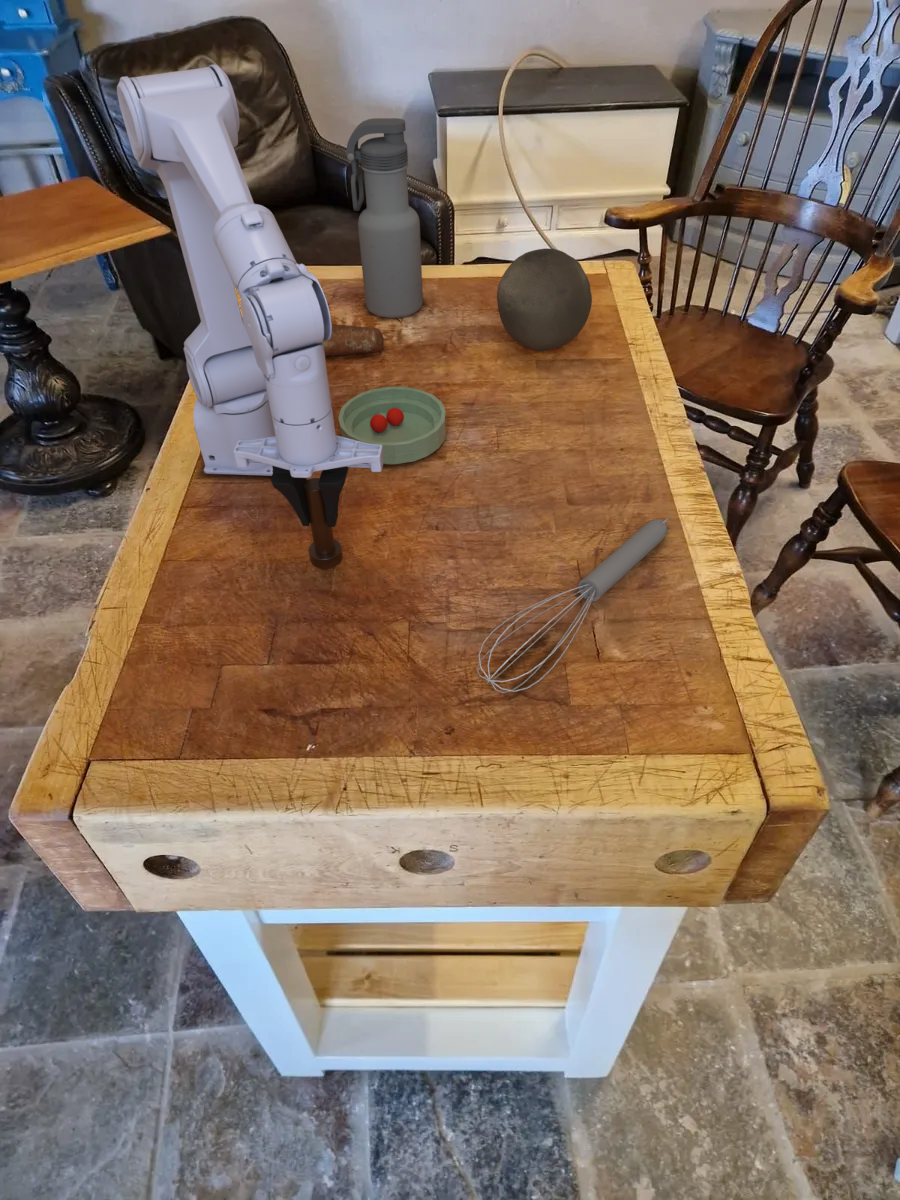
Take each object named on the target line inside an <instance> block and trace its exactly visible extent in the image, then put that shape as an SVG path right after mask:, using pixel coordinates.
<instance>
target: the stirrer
mask: <svg viewBox="0 0 900 1200" xmlns="http://www.w3.org/2000/svg"><path fill="white" fill-rule="evenodd" d="M319 479H320V477H310V478H307V481H305V483H304V491H305V497H306V502H307V508H308V514H309V519H310V524H309V526H310V530H311V535H312V541H313V542H312V543H311V544H310V545H309V547H308V556H309V560H310V563H311V565H312V566H313V567H314V568H316V569H319V570H330V569H333V568H335V567H338V566H339V565H340V564H341V563H342V562H343V559H344V554H343V548H342V544H341V542H339V541H338V540H337V539H334V537H335V536H334V532H333V527H328V524H327V519H326V508H325V503H324V499H323V496H322V493H321V490H320V488H319V485H318V482H319Z"/></svg>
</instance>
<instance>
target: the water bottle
mask: <svg viewBox="0 0 900 1200" xmlns="http://www.w3.org/2000/svg"><path fill="white" fill-rule="evenodd" d="M406 128H407V127H406V120H405V119H403V118H398V117H396V118H395V117H391V118H390V117H389V118H387V117H386V118H381V117H379V118H378V117H377V118H376V117H375V118H368V119H366V120H363V121H362V122H360V123H359V124H358V125H357V126H356V127H355V128H354V130H353V131H352V133H351V135H350V137H349V138H348V140H347V143H346V158H347V160H348V161H349V162H351V171H352V174H351V176H350V189H351V199H352V200H351V201H352V208H353V211H354V212H360V210H361V208H362V205H363V203H364V200H365V202H366V208H365V209H363V210H362V211H361V212H360V214H359V216H358V220H357V227H358V228H357V229H358V238H359V240H358V241H359V249H360V258H361V261H360V262H361V271H362V272H361V273H362V281H363V282H362V283H363V291H364V302H365V306H366V308H367V310H368V311H369V312H370V313H371V314H372V315H374V316H377V317H380V318H385V319H398V318H399V319H400V318H406V317H409V316H412V315H413V314H415V313H417V312H419V310H420V309H421V308H422V306H423V303H424V293H423V271H422V270H423V269H422V248H421V223H420V222H421V221H420V216H419V215H418V213H417V211H416V210H415V209H414V208H412V206H410V204H409V189H408V187H409V185H408V169H407V168H408V167H409V163H408V162H409V158H408V157H409V156H408V155H409V154H408V144H407V143H406V141H405V133H404V132H406ZM374 134H383V136H376V137H372V138H368V139H366V140H365V141H364V142H362V143H361V144H360V146H359V141H360V139H361V138H363V137H365V136H368V135H374ZM359 160H360V161H359ZM360 163H361V166H360ZM357 181H358V193H357Z"/></svg>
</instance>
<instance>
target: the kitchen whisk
mask: <svg viewBox="0 0 900 1200" xmlns="http://www.w3.org/2000/svg"><path fill="white" fill-rule="evenodd" d="M670 519H671V517H670V516H668V517H667V518H665V519H664V520H662V519H659V518H654V519H652V520H650V521H647V522H646V523H645V524H644V525H642V526H641V527H640V528H639V529H638V530H637V531H636V532H634V534H632V535H631V536H630V537H629V538H628V539H627V540H625V541H624V542H623V543H622V544H621V545H619V546H618V547H617V548H616V549H615V550H614V551H613V552H612V553H610V554H609V556H607V557H606V558H605V559H604V560H602V561H601V562H600V563H599V564H598V565H597V566H596V567H595V568H592V570H591V571H590V572H589V573H588V574H587V575H585V576H584V577H582V579H581V580H580V581H579V582H578V584H577V586H576V587H574V588H571V589H568V590H565V591H563V592H559V593H557V594H554V595H552V596H550V597H547V598H545V599H542V600H540V601H538V602H536V603H533V604H532V605H530V606H528V607H526V608H524V609H522V610H520V611H519V612H517V613H515V614H514V615H511V616H510V617H509V618H507V619H506V620H504V621H502V623H500V624H499V625H498V626H496V627H495V629H493V630H492V631H491V632H490V634H488V636H487V637H486V638H485V640H484V641H483V642H482V645H481V647H480V649H479V652H478V662H479V663H478V665H477V668H476V670H477V675H478V677H480V678H482V679H484V680H486V684H487V685H489V684H491V686H492V687H493V689H494V691H497V692H499V693H501V694H506V693H510V692H514V693H515V692H520V691H525V690H527V689H530V688H531V687H532V686H535V685H536V684H538V683H539V682H540V681H542V680H543V679H544V677H546V675H548V674H549V673H550V672H551V671H552V670H553V669H554V667H555V666H556V665H557V664H558V662H559V661H560V660H561V658H562V657H563V656H564V654H565V652H566V651H568V648H569V647H570V645H571V643H572V641H573V640H574V639H575V637H576V634H577V633H578V631H579V629H580V627H581V626H582V623H583V621H584V619H585V617H586V615H587V613H588V611H589V608H590V606H591V604H592V602H597V601H598V600H599V599H600V598H602V597H603V595H605V594H606V593H607V591H609V590H610V589H611V588H612V587H613V586H614V585H615V584H617V582H619V581H621V579H622V578H623V577H624V576H625V575H626V574H627V573H629V571H631V570H632V569H633V568H635V566H636V565H638V563H640V561H642V560H643V559H644V558H645V557H646V556H647V555H648V554H649V553H650V552H651V551H652V550H653V549H654V548H656V546H658V545H659V544H660V543H661V542H662V541H663V540H664V539H665V537H666V535H667V534H668V526H667V524H666V523H667V522H668V521H669V520H670ZM575 590H578V591H577V592H574V593H573V594H572V595H569V596H568V597H566V598H564V599H562V600H561V601H559V602H557V603H555V604H554V605H552V606H550V607H549V608H547V609H545V610H543V611H541V613H539V614H537V615H535V616H533V617H532V618H531V619H529V620H528V621H526V622H525V623H523V624H522V625H520V626H519V627H517V628H515V629H514V630H513V631H511V632H510V633H508V635H506V636H504V637H503V638H502V636H503V635H504V634H505V633H506V632H507V630H508V629H509V628H511V627H512V626H513V625H515V624H516V623H517V622H518V621H519V620H520V619H522V618H523V617H524V616H526V615H527V614H529V613H531V612H532V611H533V610H535V609H537V608H539V607H540V606H542V605H544V604H545V603H547V602H550V601H552V600H554V599H556V598H558V597H560V596H563V595H565V594H568V593H570V592H573V591H575ZM577 594H580V595H579V596H578V597H577V598H575V599H573V601H571V602H570V603H569V604H568V605H567V606H565V608H563V609H562V610H560V611H559V612H558V613H557V614H556V615H555V616H553V617H552V618H551V619H550V620H549V621H548V622H547V623H546V624H544V625H543V626H542V627H541V628H540V629H538V630H537V631H536V632H535V633H534V634H533V635H531V637H530V638H528V639H527V640H526V641H525V642H524V643H523V644H521V646H520V647H519V648H518V649H517V650H515V651H514V653H512V655H510V657H508V658H507V659H506V660H505V661H504V662H503V663H502V664H501V665H500V666H499V667H498V668H497V669H496V671H495V672H494V673H493V674H492V675H491V672H490V671H491V670H490V662H491V658H492V653H493V651H494V649H495V648H496V647H497V646H498V645H499V644H500V643H502V642H503V641H505V639H507V638H509V637H510V636H511V635H512V634H514V633H515V632H516V631H518V630H520V629H521V628H523V627H524V626H526V625H527V624H528V623H530V622H532V621H533V620H535V619H537V618H538V617H539V616H541V615H543V614H545V613H546V612H547V611H550V610H551V609H553V608H555V607H556V606H558V605H559V604H562V603H563V602H565V601H566V600H569V599H570V598H572V597H573V596H576V595H577ZM583 598H584V599H585V602H584V604H583V605H582V607H581V609H580V610H579V612H578V613H577V615H576V616H575V618H574V620H573V621H572V623H571V624H570V625H569V627H568V628H567V630H566V631H565V633H564V634H563V635H562V637H561V638H560V639H559V641H558V642H557V644H556V645H555V646H554V648H553V649H552V650H551V651H550V653H549V654H548V655H547V656H546V657H545V658H544V659H543V660H542V661H541V662H540V663H539V664H537V665H536V666H534V667H533V668H531V669H530V670H528V671H527V672H525V673H523V674H520V675H518V676H516V677H513V678H509V679H505V680H498V679H497V678H498V677H500V675H502V674H503V673H504V672H505V671H507V669H508V668H510V667H511V665H513V664H514V663H515V662H516V661H517V660H518V659H520V657H521V656H523V654H525V653H526V652H527V651H528V650H529V649H530V648H531V647H533V646H534V645H535V644H536V643H537V641H539V640H540V639H541V638H542V637H543V636H544V635H546V633H547V632H548V631H550V629H551V628H552V627H554V626H555V625H556V624H557V623H558V622H559V621H560V620H561V619H562V618H563V617H564V616H565V615H566V614H567V613H568V612H569V611H570V610H571V609H573V608H574V607H575V606H576V605H578V603H579V602H580V601H581V600H582V599H583ZM570 606H571V607H570ZM569 607H570V608H569ZM527 610H528V611H527ZM525 611H526V612H525ZM564 611H565V612H564ZM563 612H564V613H563ZM521 613H523V614H522V615H521V616H518V617H517V618H516V619H515V620H514V621H513V622H511V624H510V625H508V626H507V627H506V629H504V630H503V632H501V634H500V635H499V636H498V638H497V639H496V641H495V642H494V644H493V646H492V647H491V648H490V649H489V650H488V651H487V652H486V653H485V655H483V657H481V653H482V650H483V647H484V645H485V644H486V642H487V641H488V640H489V638H490V637H491V636H492V634H493V633H494V632H495V631H497V630H498V629H499V628H500V627H502V626H503V625H504V624H505V623H506V622H508V621H510V620H512V619H513V618H515V617H516V616H517V615H519V614H521ZM562 613H563V614H562ZM561 614H562V615H561ZM559 615H561V616H559ZM558 616H559V618H557V617H558ZM581 618H582V619H581ZM555 619H557V620H556V621H555V622H553V624H551V625H550V623H551V622H552V621H553V620H555ZM580 619H581V621H580ZM579 621H580V622H579ZM578 623H579V624H578ZM577 624H578V626H577ZM548 625H550V626H549V627H548V628H547V629H546V630H545V631H543V633H542V634H541V635H539V637H537V638H536V640H534V641H533V642H532V643H531V644H530V645H528V647H527V648H526V649H524V650H523V651H522V653H520V654H519V655H518V656H517V657H515V659H514V660H512V662H511V663H509V664H508V665H507V666H506V667H505V668H504V669H503V670H501V669H502V668H503V667H504V665H506V664H507V663H508V662H509V661H510V660H511V658H513V657H514V656H515V655H516V654H517V653H518V652H519V651H520V650H521V649H522V648H524V646H525V645H527V644H528V643H529V642H530V641H531V640H532V639H533V638H534V637H536V636H537V635H538V634H539V633H540V632H541V631H542V630H543V629H545V628H546V627H547V626H548ZM576 626H577V629H576V630H575V632H574V633H573V636H572V638H571V639H570V641H569V642H568V644H567V645H566V646H565V649H564V650H563V651H562V653H561V655H560V656H559V657H558V659H557V660H556V661H555V662H554V664H553V665H552V666H551V667H550V669H548V670H547V671H546V672H545V673H544V674H543V675H542V676H541V677H540V678H539V679H537V680H536V681H534V682H533V683H531V684H530V685H528V686H525V687H522V685H524V684H525V683H526V682H527V681H528V680H529V679H530V678H531V677H533V676H534V675H535V674H536V672H537V671H539V669H540V668H541V667H542V666H543V665H544V663H546V661H547V660H548V659H549V658H550V657H551V656H552V655H553V654H554V653H555V652H556V651H557V649H559V648H560V647H561V645H562V644H563V643H564V642H565V641H566V639H567V638H568V637H569V635H570V634H571V632H572V631H573V630H574V629H575V627H576ZM500 639H501V640H500ZM488 655H489V656H488ZM487 656H488V661H487V672H488V675H487V673H486V672H485V670H484V669H483V667H482V661H484V659H485V658H486V657H487ZM479 668H480V670H481V671H482V673H483V674H484V676H483V675H481V673H480V670H479ZM500 670H501V671H500ZM499 671H500V672H499ZM498 672H499V673H498ZM532 672H533V673H532ZM497 673H498V674H497ZM530 673H531V674H530ZM496 674H497V675H496ZM528 674H530V675H529V676H528V677H527V678H526V679H525V680H524V681H523V682H521V683H519V685H517V686H515V687H514V688H512V689H509V688H504V687H501V686H500V685H499V684H497V683H505V682H509V681H515V680H517V679H520V678H521V677H524V676H527V675H528ZM494 676H495V677H494ZM496 687H497V688H496ZM520 687H522V688H520ZM498 688H499V689H500V690H499V689H498Z"/></svg>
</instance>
